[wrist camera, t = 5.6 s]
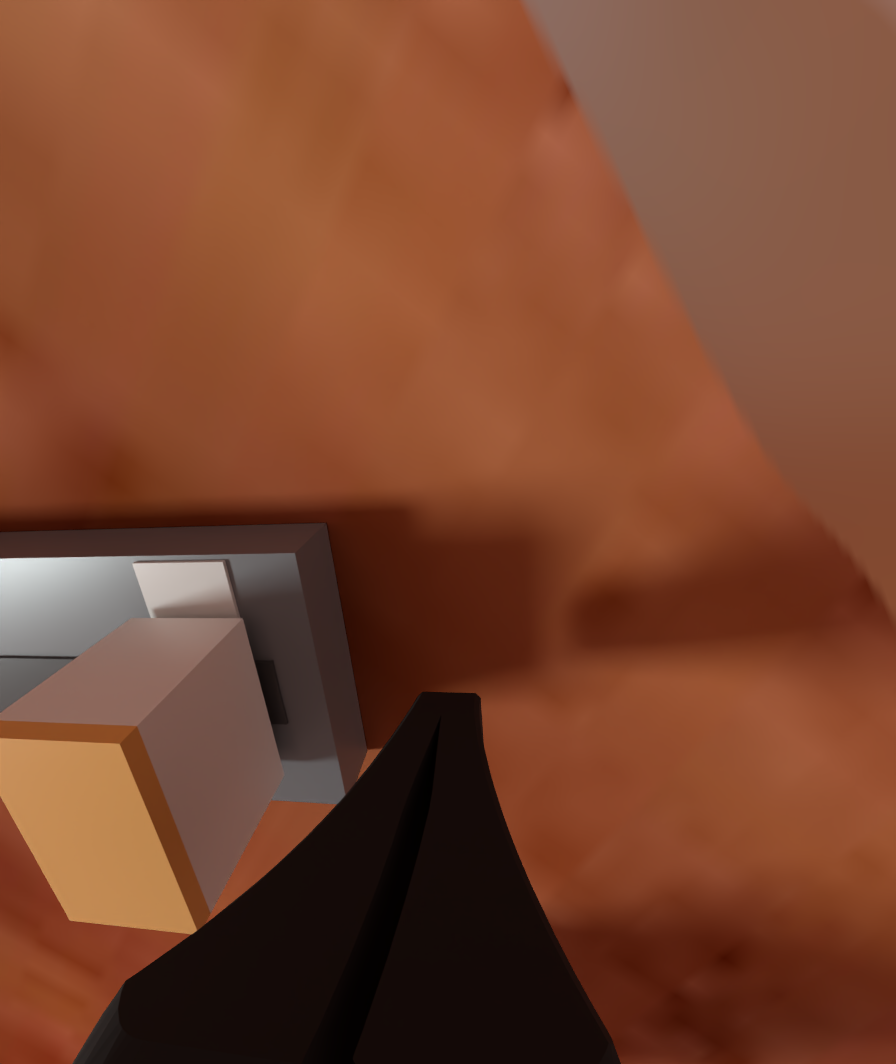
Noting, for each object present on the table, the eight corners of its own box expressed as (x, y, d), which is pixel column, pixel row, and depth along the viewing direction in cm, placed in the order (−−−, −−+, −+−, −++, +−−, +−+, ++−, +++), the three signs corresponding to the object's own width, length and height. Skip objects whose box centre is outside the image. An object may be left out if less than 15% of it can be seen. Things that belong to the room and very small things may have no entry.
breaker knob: (242, 618, 12) (119, 744, 8) (284, 775, 13) (199, 935, 10) (131, 617, 12) (-34, 736, 8) (186, 769, 14) (69, 920, 10)
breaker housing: (326, 522, 13) (293, 554, 11) (367, 750, 16) (346, 807, 14) (-151, 536, 15) (-247, 564, 14) (-40, 732, 18) (-106, 778, 16)
